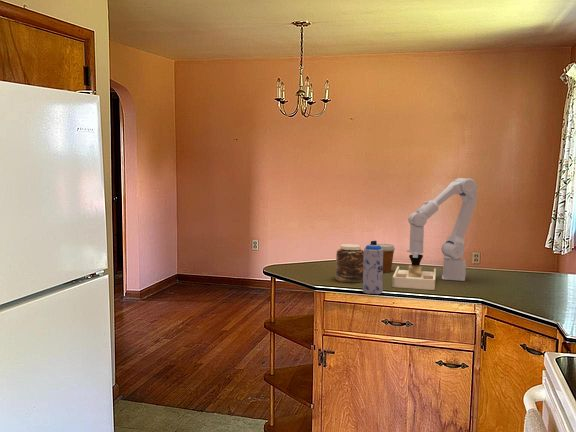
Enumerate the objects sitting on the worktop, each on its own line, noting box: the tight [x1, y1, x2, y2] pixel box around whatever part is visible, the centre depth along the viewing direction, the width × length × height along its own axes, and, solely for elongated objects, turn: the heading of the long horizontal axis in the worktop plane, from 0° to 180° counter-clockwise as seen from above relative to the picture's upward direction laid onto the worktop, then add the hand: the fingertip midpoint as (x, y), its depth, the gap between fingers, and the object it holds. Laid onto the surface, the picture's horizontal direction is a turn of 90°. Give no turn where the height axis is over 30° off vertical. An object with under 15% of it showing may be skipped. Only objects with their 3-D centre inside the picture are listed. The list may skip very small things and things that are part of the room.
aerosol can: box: [361, 240, 384, 295], centre depth 207 cm, size 8×8×20 cm
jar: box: [335, 243, 364, 284], centre depth 228 cm, size 12×12×15 cm
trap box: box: [391, 265, 437, 291], centre depth 225 cm, size 17×24×4 cm
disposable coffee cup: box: [377, 243, 396, 273], centre depth 247 cm, size 10×10×12 cm
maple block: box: [408, 264, 422, 277], centre depth 225 cm, size 5×5×4 cm
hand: (415, 271), depth 229 cm, fingers closed
